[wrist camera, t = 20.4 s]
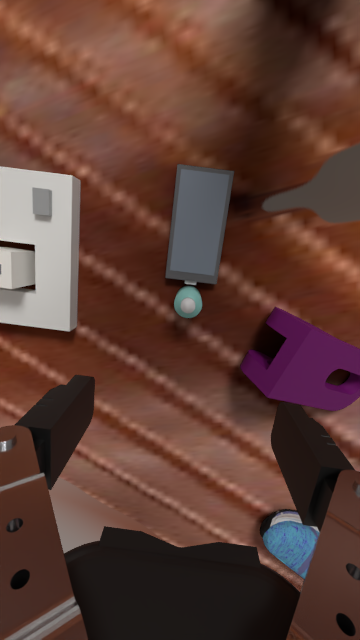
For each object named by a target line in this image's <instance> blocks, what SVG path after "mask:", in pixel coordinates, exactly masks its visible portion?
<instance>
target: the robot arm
mask: <svg viewBox="0 0 360 640" xmlns="http://www.w3.org/2000/svg"><path fill="white" fill-rule="evenodd" d="M94 390H95V379H94V377H89V376H82V375H75V376H74V377H73V378H72V379H71V380H70V381H69V382H68V384H67V385H59V386H57V387H55V388H53V389H51V390H49V391H48V392H47V393H46V394H45V395H44V396H43V397H42V399H40V400H39V401H38V402H37V403H36V405H34V406H33V407H32V408H31V409H30V410H29V411H28V412H27V413H26V414H25V415H24V416H23V417H22V418H21V419H20V420H19V421H18V422H17V423H16V424H15V425H12V426H5V427H1V428H0V640H360V472H359V471H355V469H354V468H353V467H352V465H351V464H350V463H349V461H348V460H347V458H346V457H345V456H344V454H343V453H342V452H341V450H340V449H339V448H338V446H336V444H335V442H334V441H333V440H332V438H330V435H329V434H328V433H327V431H326V430H325V429H324V427H323V426H322V425H320V424H319V423H318V422H316V421H315V420H314V419H313V418H309V417H308V416H307V414H306V413H305V411H304V410H303V408H302V407H301V406H300V405H299V404H293V403H285V402H280V403H279V405H278V408H277V412H276V416H275V420H274V425H273V429H272V433H271V446H272V449H273V452H274V454H275V457H276V459H277V462H278V464H279V467H280V469H281V472H282V474H283V477H284V479H285V482H286V484H287V487H288V489H289V492H290V494H291V497H292V499H293V502H294V504H295V506H296V509H297V511H298V514H299V516H300V519H301V521H302V524H303V525H306V526H314V527H317V528H318V530H319V532H320V533H319V536H318V539H317V542H316V545H315V548H314V551H313V554H312V557H311V560H310V563H309V566H308V569H307V572H306V575H305V579H304V582H303V585H302V588H301V591H300V592H299V591H298V590H297V589H296V588H295V587H294V586H293V585H292V584H291V583H290V582H288V581H287V580H286V579H285V578H284V577H282V576H281V575H280V574H278V573H277V572H275V571H274V570H272V569H270V568H268V567H267V566H265V565H263V564H260V561H259V556H258V552H257V547H251V546H244V545H237V544H229V543H222V542H216V543H210V544H203V545H196V546H190V547H182V548H181V547H176V546H174V545H172V544H169V543H167V542H165V541H162V540H160V539H158V538H155V537H153V536H151V535H148V534H146V533H144V532H141V531H134V530H127V529H120V528H112V527H104V529H103V532H102V536H101V538H100V541H95V542H91V543H87V544H84V545H81V546H79V547H76V548H74V549H72V550H70V551H68V552H66V553H65V554H64V553H63V550H62V545H61V541H60V536H59V533H58V528H57V524H56V520H55V516H54V512H53V507H52V503H51V499H50V495H49V491H48V489H49V490H51V489H52V487H53V486H54V484H55V482H56V481H57V478H58V477H59V475H60V474H61V472H62V470H63V469H64V467H65V465H66V463H67V462H68V460H69V458H70V457H71V455H72V453H73V452H74V450H75V448H76V446H77V445H78V443H79V441H80V440H81V438H82V436H83V435H84V433H85V431H86V429H87V428H88V426H89V424H90V422H91V419H92V416H93V410H94Z"/></svg>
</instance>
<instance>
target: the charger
mask: <svg viewBox="0 0 360 640" xmlns="http://www.w3.org/2000/svg"><path fill="white" fill-rule="evenodd" d="M33 284H36V282H35V251H31V250H25V249H18V248H11V247H0V287H1V288H7V289H15V288H19V287H24V286H29V285H33Z"/></svg>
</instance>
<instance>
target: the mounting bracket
mask: <svg viewBox="0 0 360 640" xmlns="http://www.w3.org/2000/svg"><path fill="white" fill-rule="evenodd" d="M266 324H267V325H269V326H270V327H271V328H273V329H274V330H276V331H277V332H279V333H280V334H281V335H283V336H284V337H286V338H287V339H286V341H285V342H284V344H283V345H282V347H281V349H280V350H279V352H278V353H277V355H276V357H275V358H274V359H273V358H271V357H269V356H267V355H265V354H263V353H261V352H259V351H255V350H249V351H248V353H247V355H246V356H245V358H244V360H243V361H242V363H241V365H240V368H241V370H242V371H243V373H244V374H245V375H246V376H247V377H248V378H249V379H250V380H251V381H252V382H253V383H254V384H255V385H256V386H257V387H258V388H259V389H260V390H261V391H262V392H263V394H264V395H265V396H266V397H268V398H272V399H277V400H282V401H287V402H291V403H296V404H301V405H306V406H310V407H315V408H320V409H325V410H330V411H336V410H340V409H343V408H345V407H347V406H348V405H350V404H351V403H353V402H354V401H355V400H357V399H358V398H359V397H360V349H358V348H357V347H355V346H352V345H350V344H348V343H346V342H344V341H341V340H339V339H337V338H335V337H333V336H331V335H329V334H328V333H326V332H324V331H322V330H320V329H319V328H317V327H315V326H313V325H311V324H309V323H308V322H306V321H304V320H302V319H300V318H298V317H296V316H294V315H292V314H290V313H288V312H286V311H284V310H282V309H280V308H277V307H275V308H274V309H273V311H272V313H271V314H270V316H269V318H268V319H267V321H266ZM337 369H344V370H346V371H349V372H351V374H350V376H349V378H348V379H347V381H346V382H344V383H343V384H342V385H339V386H336V385H333V384H329V383H326V379H327V378H328V376H329V375H330V374H331V373H332V372H333V371H335V370H337Z"/></svg>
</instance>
